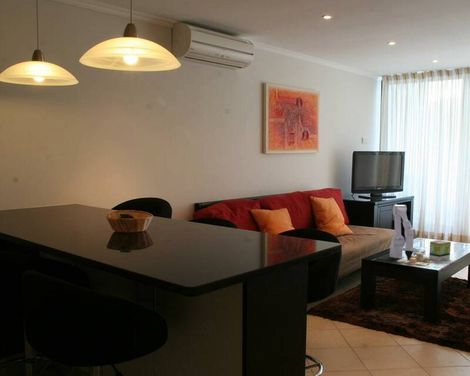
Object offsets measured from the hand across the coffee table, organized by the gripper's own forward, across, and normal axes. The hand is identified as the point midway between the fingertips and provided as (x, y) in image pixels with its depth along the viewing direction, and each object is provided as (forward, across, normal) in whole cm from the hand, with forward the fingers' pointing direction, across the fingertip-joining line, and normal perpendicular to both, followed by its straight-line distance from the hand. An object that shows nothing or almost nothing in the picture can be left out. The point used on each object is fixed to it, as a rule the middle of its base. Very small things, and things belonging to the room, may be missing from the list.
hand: (408, 260), depth 373 cm
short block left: (+2, -1, +11) cm, 11 cm away
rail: (+2, +3, +1) cm, 4 cm away
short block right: (+2, +10, +11) cm, 15 cm away
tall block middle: (+2, +4, +11) cm, 12 cm away
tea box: (+2, +13, +32) cm, 35 cm away
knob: (+1, +3, 0) cm, 3 cm away
